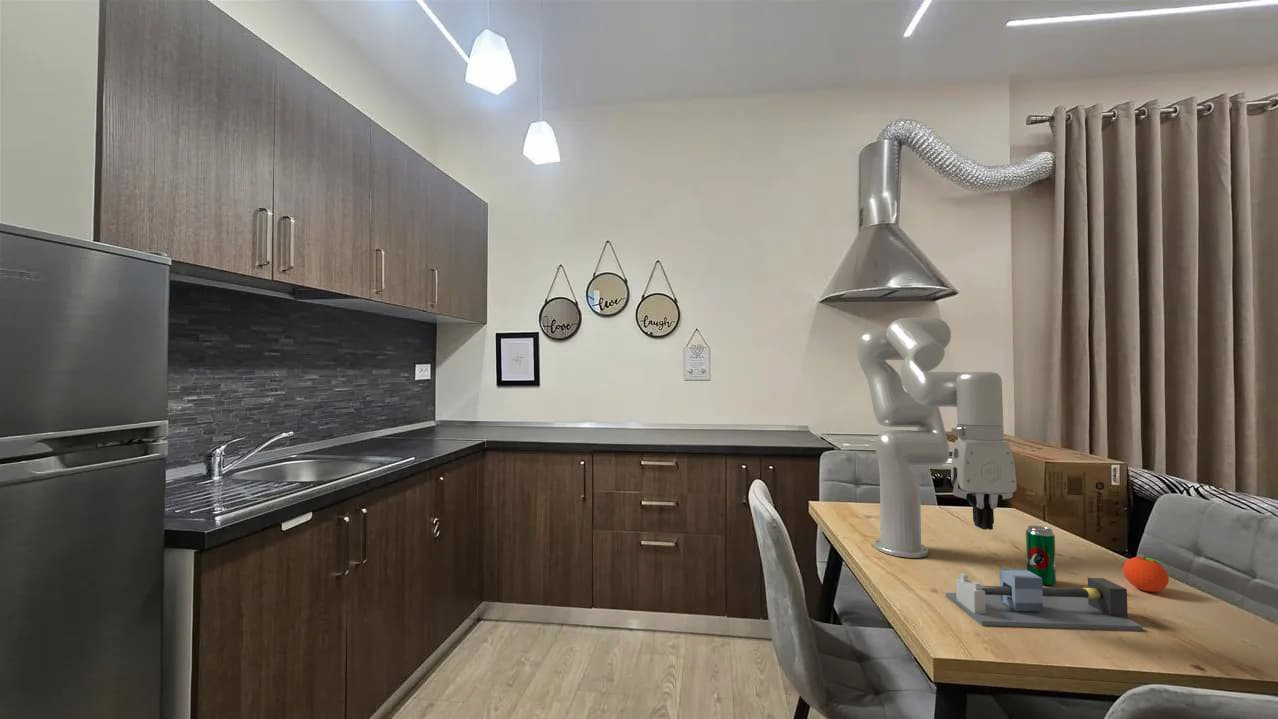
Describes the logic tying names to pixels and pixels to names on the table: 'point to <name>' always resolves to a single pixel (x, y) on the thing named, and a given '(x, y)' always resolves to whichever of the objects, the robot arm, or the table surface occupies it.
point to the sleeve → (1022, 589)
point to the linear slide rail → (1049, 606)
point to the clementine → (1146, 574)
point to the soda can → (1041, 553)
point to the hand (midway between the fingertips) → (983, 527)
